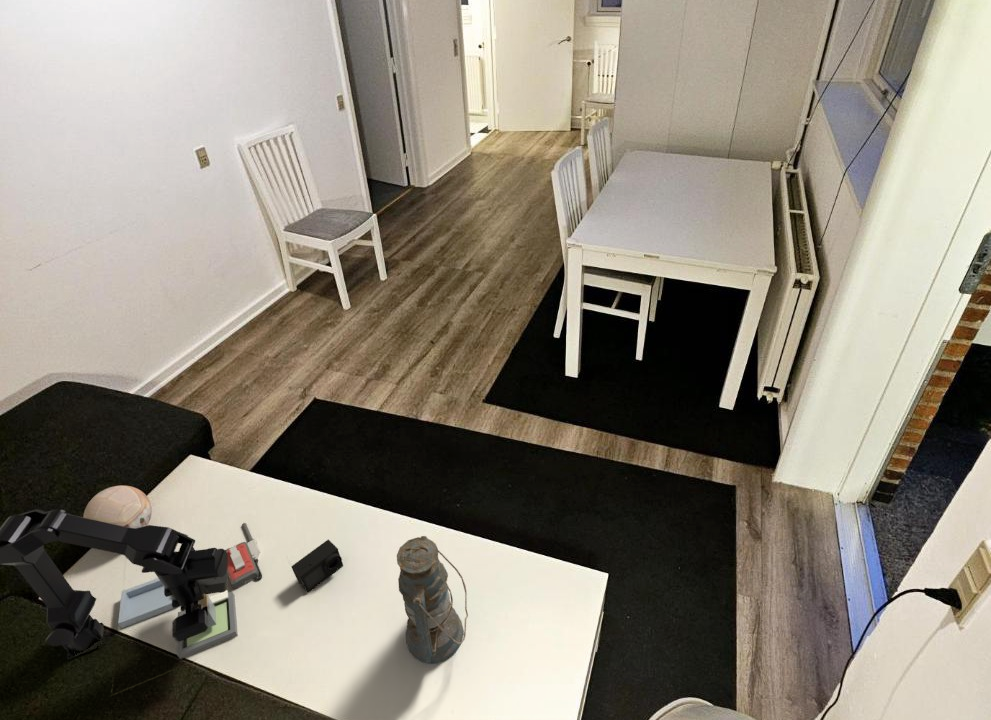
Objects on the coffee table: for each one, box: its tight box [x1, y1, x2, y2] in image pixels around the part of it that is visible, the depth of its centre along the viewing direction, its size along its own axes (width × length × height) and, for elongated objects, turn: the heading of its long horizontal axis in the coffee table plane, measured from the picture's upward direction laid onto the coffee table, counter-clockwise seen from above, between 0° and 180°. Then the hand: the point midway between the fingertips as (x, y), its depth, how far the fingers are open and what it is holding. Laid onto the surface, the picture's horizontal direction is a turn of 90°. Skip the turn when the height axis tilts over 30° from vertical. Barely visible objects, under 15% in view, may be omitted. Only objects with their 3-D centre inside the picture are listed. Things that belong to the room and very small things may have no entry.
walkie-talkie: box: [225, 522, 263, 590], centre depth 144 cm, size 9×4×20 cm
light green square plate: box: [186, 602, 230, 647], centre depth 129 cm, size 9×8×1 cm
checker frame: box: [176, 589, 239, 660], centre depth 129 cm, size 12×12×3 cm
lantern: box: [396, 535, 469, 664], centre depth 117 cm, size 19×14×30 cm
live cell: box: [185, 594, 216, 628], centre depth 126 cm, size 4×4×6 cm
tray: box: [117, 577, 174, 629], centre depth 135 cm, size 13×9×2 cm
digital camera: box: [291, 539, 344, 594], centre depth 137 cm, size 10×5×7 cm, turn 136°
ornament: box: [82, 485, 153, 528], centre depth 149 cm, size 15×15×15 cm
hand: (203, 617), depth 127 cm, fingers closed on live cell, 4 cm apart
